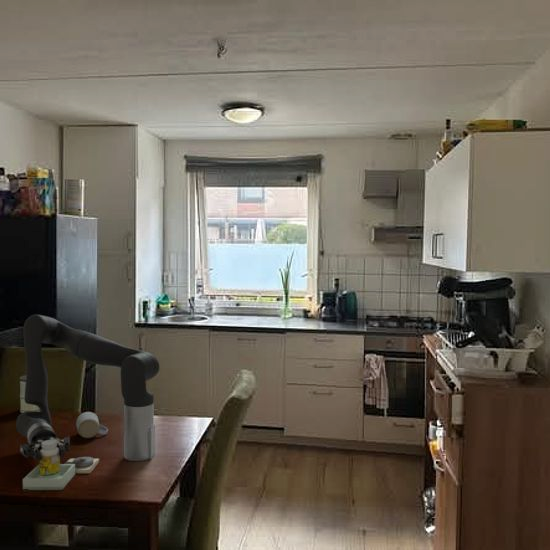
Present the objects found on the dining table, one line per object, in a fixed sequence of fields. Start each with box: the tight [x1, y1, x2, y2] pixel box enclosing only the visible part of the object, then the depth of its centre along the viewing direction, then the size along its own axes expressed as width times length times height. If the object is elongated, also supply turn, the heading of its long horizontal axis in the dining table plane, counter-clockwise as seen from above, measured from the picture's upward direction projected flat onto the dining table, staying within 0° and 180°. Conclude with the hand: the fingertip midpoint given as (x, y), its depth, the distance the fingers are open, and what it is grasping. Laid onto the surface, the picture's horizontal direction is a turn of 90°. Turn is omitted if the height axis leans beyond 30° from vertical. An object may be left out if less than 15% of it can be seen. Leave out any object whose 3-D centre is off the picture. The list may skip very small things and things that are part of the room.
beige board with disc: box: [64, 456, 100, 474], centre depth 166 cm, size 9×9×3 cm
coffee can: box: [19, 374, 40, 414], centre depth 225 cm, size 10×10×14 cm
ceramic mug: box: [75, 411, 109, 439], centre depth 195 cm, size 11×8×8 cm
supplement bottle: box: [38, 440, 61, 478], centre depth 155 cm, size 5×5×10 cm
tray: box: [22, 463, 76, 491], centre depth 155 cm, size 11×11×3 cm
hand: (51, 455), depth 153 cm, fingers closed on supplement bottle, 5 cm apart
